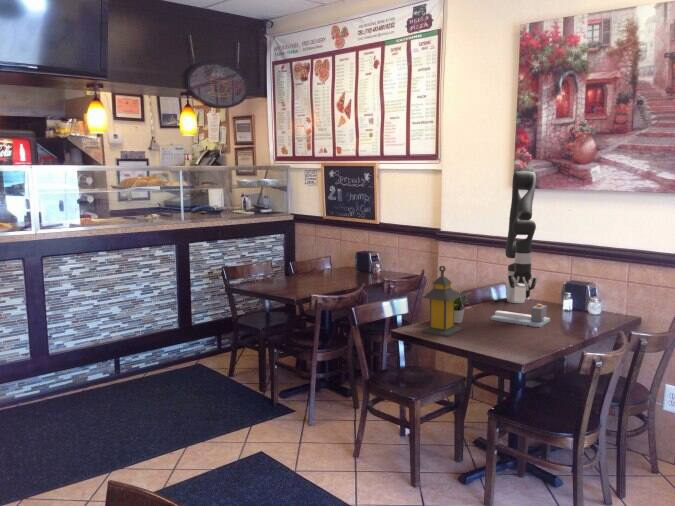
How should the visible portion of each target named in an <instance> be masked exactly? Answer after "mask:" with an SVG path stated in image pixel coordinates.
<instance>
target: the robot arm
mask: <svg viewBox="0 0 675 506" xmlns="http://www.w3.org/2000/svg"><path fill="white" fill-rule="evenodd" d="M536 183H537V175H536V173H535V172H533V171H529V170H528V171H526V170H525V171H524V170H518V171H515V172H514V173H513V175H512V187H511V188H512V191H511V204H510V210H509V218H508V219H509V220H508V231H507V239H506V244H505V256H506V258H508V259H514V263H510V264H509V265H507V292H506V295H507V296H506V298H507V299H506V302H508V303H511V304H513V303H514V304H524V303H525V302H519V301H514V291H515V286H518V285H520V284H524V285H525V287H526V298H529V297H531V290H535V287H536V284H537V281H538V277H537V276H535V277H534V276H533V275H532V243H533V242H532V241H533V238H534V234H535V231H536V229H537V225H536V222H535V221H534V220H531V219H532V218H533V204H534V203H533V202H534V196H535V191H536ZM519 190H522V191H527V192H526V193H525V194H524V195H523V196H522V197H521V195H520V191H519ZM517 236H527V237H525V238H522V239H518V240H515V239H516V238H517ZM530 280H531V284H530Z"/></svg>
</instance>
